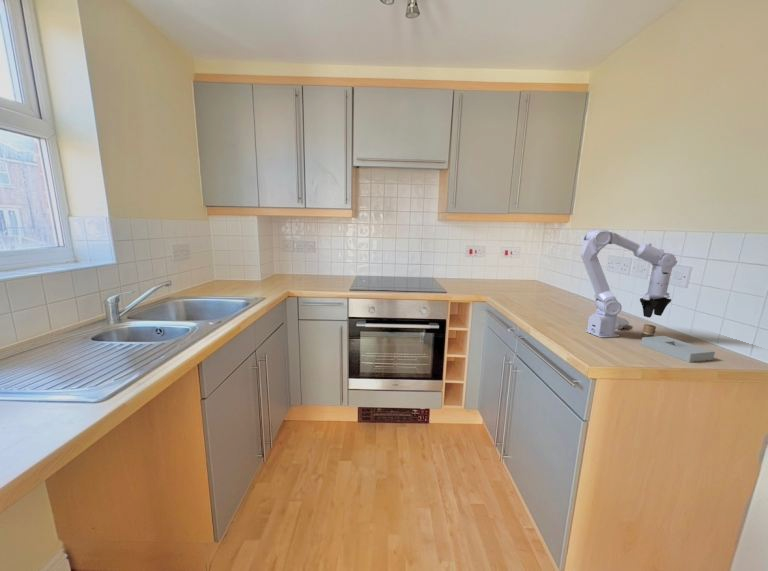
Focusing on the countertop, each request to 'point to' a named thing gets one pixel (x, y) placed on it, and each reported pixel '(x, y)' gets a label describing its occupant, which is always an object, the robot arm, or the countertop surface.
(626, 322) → the stone block
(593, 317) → the robot arm
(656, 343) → the grey board
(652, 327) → the walnut peg
